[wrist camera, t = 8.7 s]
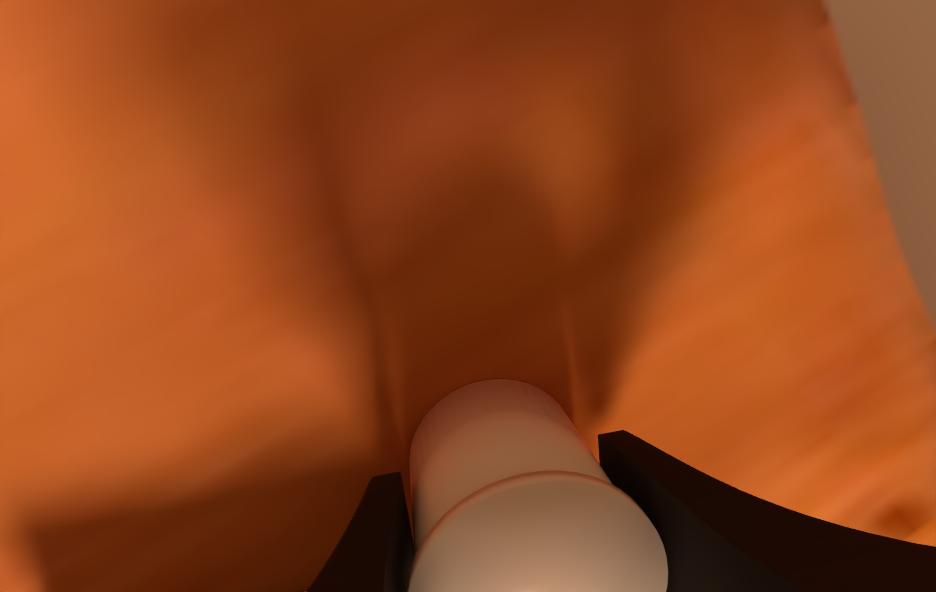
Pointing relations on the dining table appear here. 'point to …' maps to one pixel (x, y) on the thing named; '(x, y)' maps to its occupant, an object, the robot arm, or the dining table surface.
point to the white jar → (521, 502)
